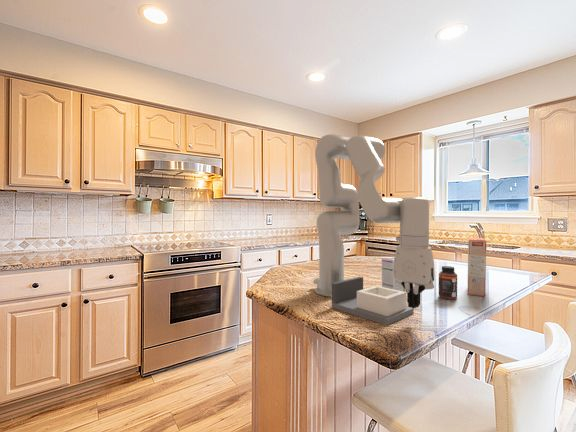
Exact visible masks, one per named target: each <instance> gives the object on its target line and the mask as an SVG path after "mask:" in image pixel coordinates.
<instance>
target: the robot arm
mask: <svg viewBox="0 0 576 432" xmlns="http://www.w3.org/2000/svg"><path fill="white" fill-rule="evenodd" d="M314 151H315V152H314V155H315V156H314V157H315V162H316V167H317V174H318V194H319V195H318V196H319V202H320V204H321V206H323V207H325V208H340V210H326V211H323V212H320V213H319V215H318V216H317V217H316V229H317V235H318V255H319V256H318V257H319V258H318V259H319V260H318V273H319V275H318V277H317V278H315V280H313V281H312V283H313V284H314V285H316V288H315V289H314V293H315V294H317V295H319V296H324V297H330V298H332V283H335V282H339V281H343V280H345V246H344V243H343V240H342V239H341V236H349V235H353V234H355V233H356V232H358V230H359V228H360V205H361V209H362V211H363V212H364V214H365V215H366V217H367V218H368V220H370V221H371V222H374V223H376V224H398V223H399V235H398V236H396V237H395V240H396V242H398V244H399V245H396V249H395V252H394V253H395V254H394V257H395V258H394V268H393V276H394V278H395V282H396V283H398V284H401V285H402V286H403V287H404V288H405V292H406V303H407V307H411V308H414V309H416V308H418V307H419V306H420V305H421V294H422V293H423V292H424V291H425V290H433V289H435V283H434V282H435V262H434V260H435V259H434V255H433V250H432V247H431V246H430V202H429V200H428V199H427V198H425V197H405V198H401V197H400V198H398V197H382V196H381V194H380V192H379V191H378V189H377V187H376V183H375V182H377V181H378V180H380V179H381V178H382V176H383V175H384V174H385V172H386V171H385V169H386V168H385V166H384V164H383V162H382V159H383V158H384V156H385V154H386V148H385V144H384V143H383V141H382V140H380V139H379V138H377V137H372V136H365V135H354V136H352V137H351V136H345V135H341V134H330V133H329V134H325V135H323V136H322V137H321V138H319V139H318V141H317V144H316V146H315V150H314ZM336 159H339V160H347V161H350V163H351V165H352V167H353V169H354V170H355V173H356V175H357V176H358V178H359V182H358V187H357V189H356V187H354V186H353V185H352V184H349V183H342V179H341V169H340V168H339V165H338V164H337V162H336V161H335V160H336Z"/></svg>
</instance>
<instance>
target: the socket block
mask: <svg viewBox="0 0 576 432" xmlns="http://www.w3.org/2000/svg"><path fill="white" fill-rule="evenodd" d="M406 306H407V292H406V291H405V292H403V291H398V290H394V289H389V288H384V287H382V286H379V285H373V286H370V287H367V288H363V290H359V291H357V308H361V309H364V310H368V311H371V312H374V313H378V314H381V315H384V316H390V315H392V314H394V313H397V312H399V311H402V310H404V309H406Z"/></svg>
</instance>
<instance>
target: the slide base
mask: <svg viewBox="0 0 576 432" xmlns="http://www.w3.org/2000/svg"><path fill="white" fill-rule="evenodd" d="M363 289H364V277H363V276H357V277H352V278H348V279H344V280H343V281H339V282H335V283H332V297H331V308H333V309H336V310H338V311H341V312H345V313H348V314H350V315H353V316H357V317H360V318H363V319H365V320H366V319H367V320H370V321H373V322H376V323H378V324H381V325H384V326H389V325H391V324H393V323H395V322H397V321H400V320H402V319H404V318H407V317H409V316H411V315H414V313H415V312H414V311H415V308H412V307H408V305H406V309H404V310H402V311H399V312H397V313H394V314H392V315H390V316H384V315H381V314H378V313H374V312H371V311H368V310H364V309H361V308H357V291H359V290H363Z"/></svg>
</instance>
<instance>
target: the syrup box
mask: <svg viewBox="0 0 576 432" xmlns="http://www.w3.org/2000/svg"><path fill="white" fill-rule="evenodd" d="M394 258H395V256H391V257H384V258H383V257H382V258H381V287H384V288H389V289H394V290H398V291H403V292H406V291H405V288H404V287H403V286H402V285H401V284H398V283H396V282H395V278H394V276H393V268H394Z"/></svg>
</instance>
